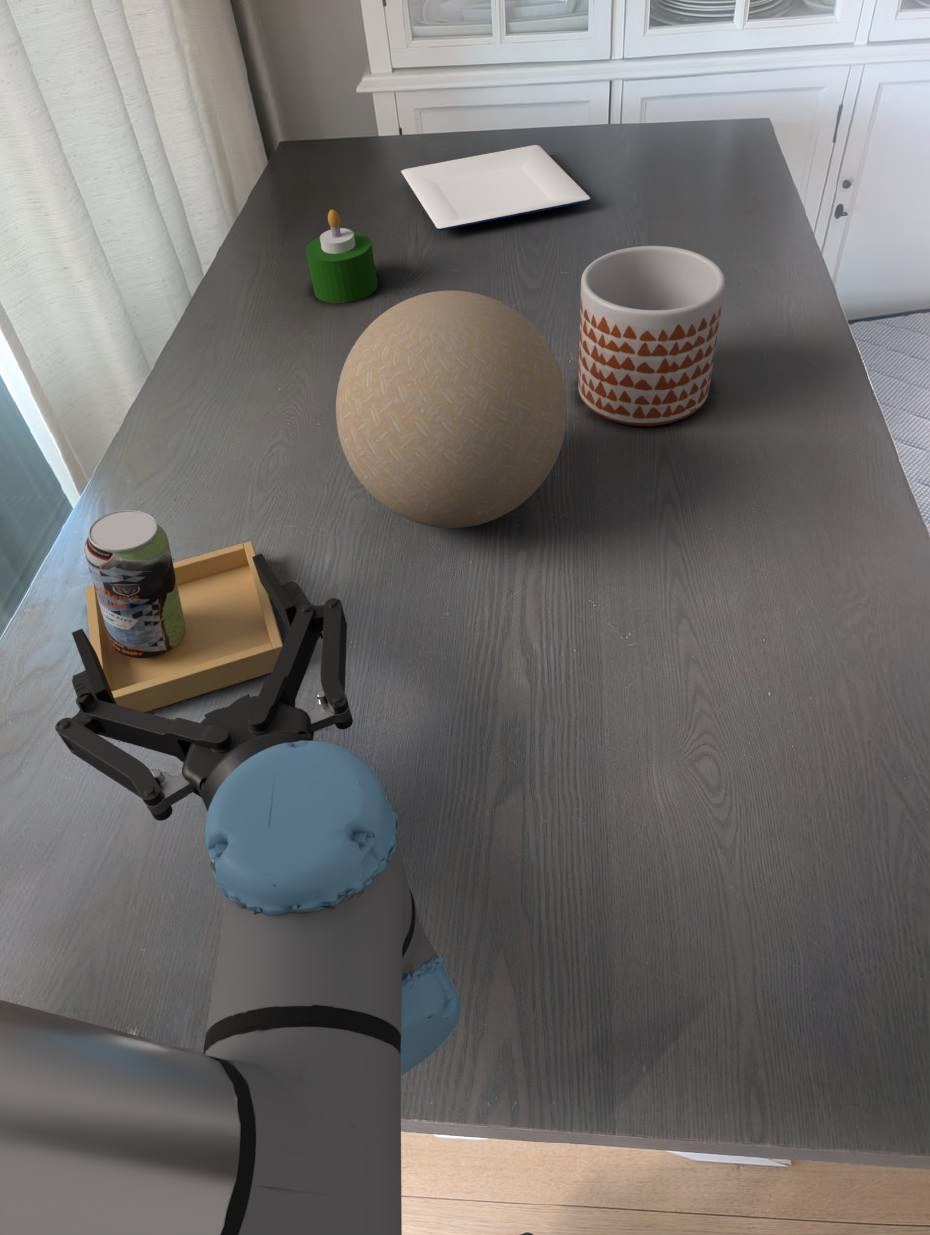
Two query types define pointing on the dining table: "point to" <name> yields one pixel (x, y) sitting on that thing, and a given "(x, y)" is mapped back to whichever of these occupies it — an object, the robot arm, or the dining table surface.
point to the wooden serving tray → (198, 634)
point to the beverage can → (135, 583)
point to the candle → (341, 264)
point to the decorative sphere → (451, 409)
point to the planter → (648, 333)
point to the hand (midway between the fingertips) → (175, 604)
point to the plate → (492, 187)
